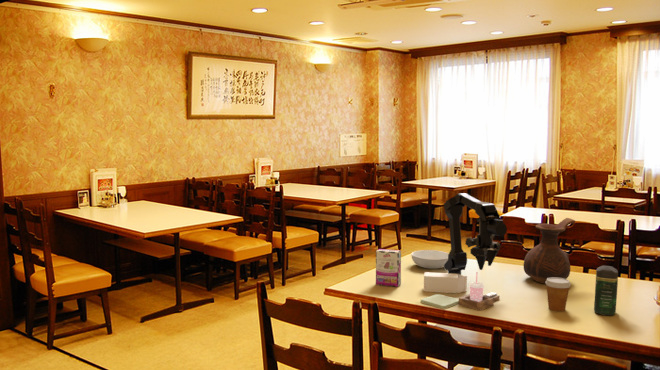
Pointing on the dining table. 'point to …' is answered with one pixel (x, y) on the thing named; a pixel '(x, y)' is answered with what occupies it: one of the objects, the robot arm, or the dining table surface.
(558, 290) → the disposable coffee cup
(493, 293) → the key bar
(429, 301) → the pale green square pad
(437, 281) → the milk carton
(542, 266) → the jug
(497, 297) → the brown wooden tray
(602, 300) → the coffee jar
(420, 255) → the serving bowl
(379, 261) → the candy bar box
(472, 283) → the beverage cup
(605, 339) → the dining table surface
